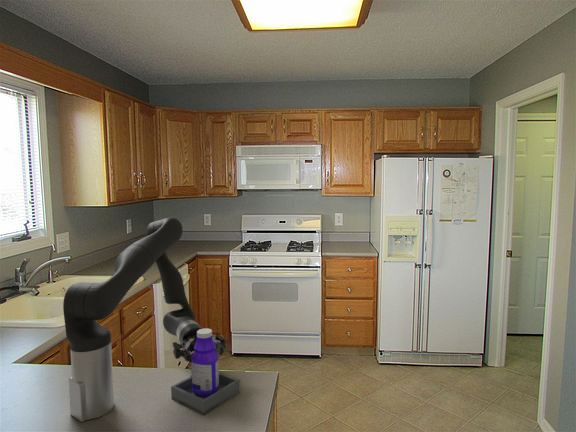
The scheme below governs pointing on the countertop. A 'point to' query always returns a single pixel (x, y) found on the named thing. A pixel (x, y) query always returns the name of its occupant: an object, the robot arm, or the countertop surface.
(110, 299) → the robot arm
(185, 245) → the countertop surface
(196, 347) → the bottle
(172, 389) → the tray
